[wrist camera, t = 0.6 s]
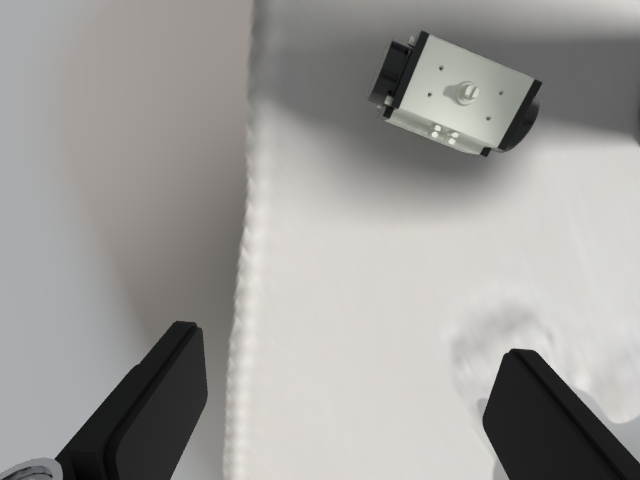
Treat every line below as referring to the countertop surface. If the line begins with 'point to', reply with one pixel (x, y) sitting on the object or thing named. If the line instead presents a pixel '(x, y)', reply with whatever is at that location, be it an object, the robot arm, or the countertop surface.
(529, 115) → the pneumatic valve
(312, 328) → the countertop surface
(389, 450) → the countertop surface
